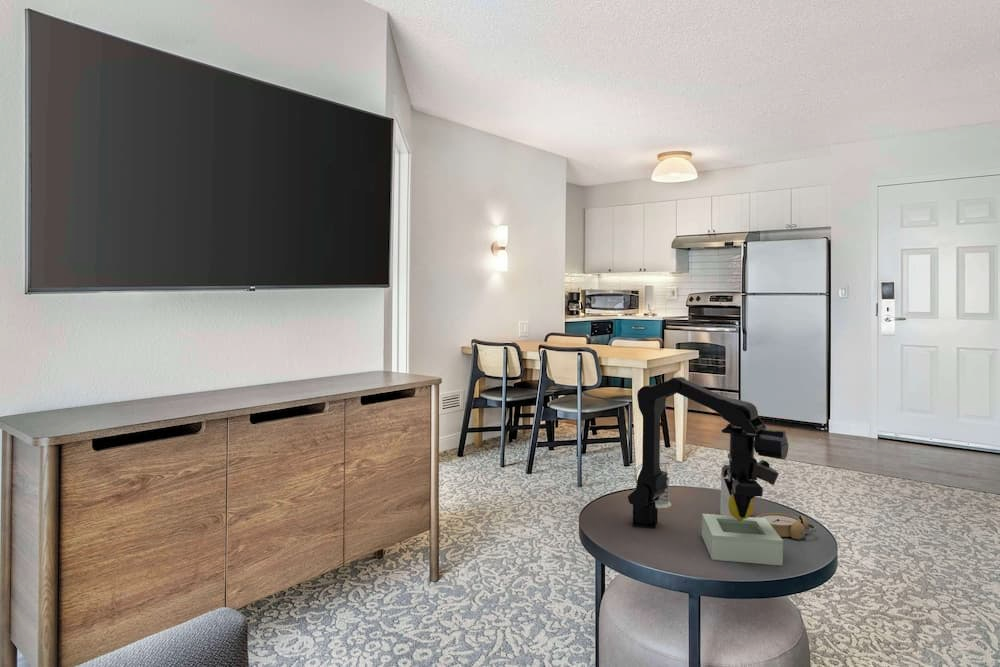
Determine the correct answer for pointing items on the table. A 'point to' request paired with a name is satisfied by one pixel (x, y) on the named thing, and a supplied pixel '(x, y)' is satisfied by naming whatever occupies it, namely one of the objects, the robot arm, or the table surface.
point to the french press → (663, 500)
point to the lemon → (734, 509)
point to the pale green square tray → (742, 539)
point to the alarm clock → (789, 525)
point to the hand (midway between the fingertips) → (739, 513)
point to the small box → (725, 499)
